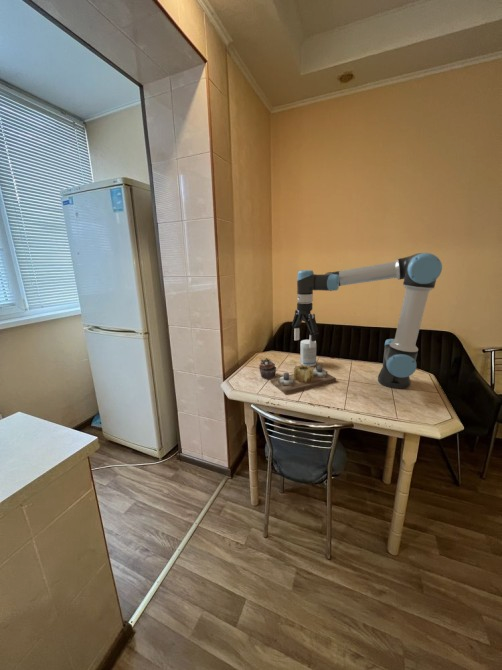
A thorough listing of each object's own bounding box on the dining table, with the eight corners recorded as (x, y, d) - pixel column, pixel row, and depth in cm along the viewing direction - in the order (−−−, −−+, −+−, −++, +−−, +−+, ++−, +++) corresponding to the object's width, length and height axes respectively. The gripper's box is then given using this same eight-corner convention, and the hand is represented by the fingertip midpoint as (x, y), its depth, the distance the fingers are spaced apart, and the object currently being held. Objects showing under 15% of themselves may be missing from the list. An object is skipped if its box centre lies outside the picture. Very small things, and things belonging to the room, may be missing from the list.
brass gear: (316, 380, 147) (317, 369, 145) (300, 384, 143) (301, 373, 141) (305, 373, 155) (306, 363, 154) (290, 376, 152) (290, 366, 150)
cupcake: (270, 381, 152) (270, 363, 150) (256, 377, 158) (255, 360, 155) (279, 374, 160) (279, 358, 157) (265, 371, 165) (265, 355, 163)
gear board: (335, 381, 149) (336, 369, 147) (285, 394, 137) (285, 381, 135) (318, 371, 162) (318, 360, 160) (271, 382, 150) (270, 370, 148)
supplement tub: (319, 364, 172) (320, 341, 168) (308, 368, 167) (308, 345, 163) (307, 360, 180) (308, 338, 176) (296, 363, 175) (297, 341, 171)
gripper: (285, 300, 148) (285, 338, 153) (313, 306, 126) (312, 351, 131) (297, 298, 150) (296, 336, 156) (327, 305, 128) (325, 348, 134)
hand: (304, 343), depth 144 cm, fingers open, 13 cm apart
